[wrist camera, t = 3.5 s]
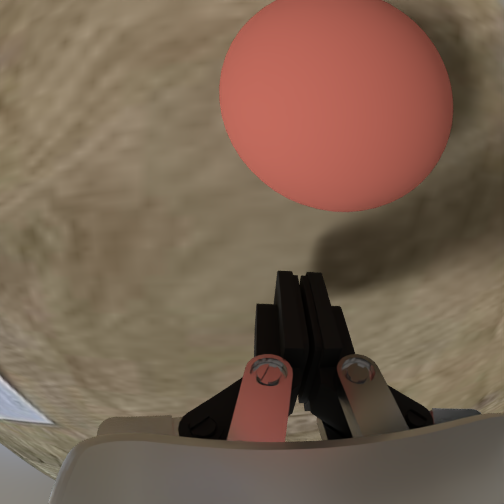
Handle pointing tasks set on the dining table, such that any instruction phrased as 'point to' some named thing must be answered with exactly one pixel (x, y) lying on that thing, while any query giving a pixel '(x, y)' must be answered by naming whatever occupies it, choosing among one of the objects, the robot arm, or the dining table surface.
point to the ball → (336, 102)
